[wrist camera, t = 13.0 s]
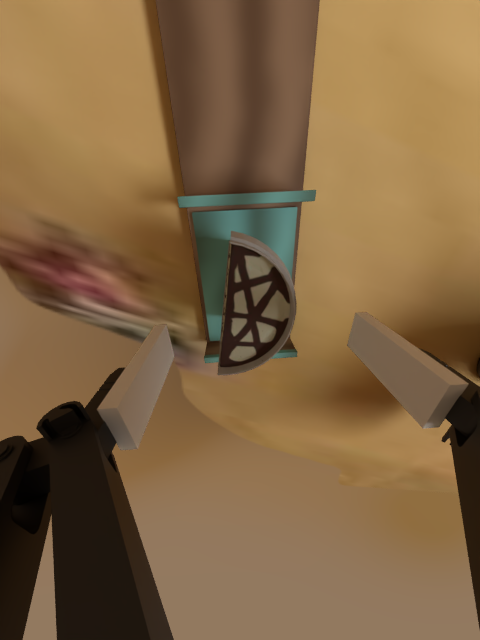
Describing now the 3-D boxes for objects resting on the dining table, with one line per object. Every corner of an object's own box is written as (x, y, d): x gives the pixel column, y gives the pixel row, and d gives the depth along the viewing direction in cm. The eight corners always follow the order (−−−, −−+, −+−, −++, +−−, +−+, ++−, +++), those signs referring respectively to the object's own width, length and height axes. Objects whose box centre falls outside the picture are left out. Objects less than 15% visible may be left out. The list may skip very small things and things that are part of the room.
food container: (265, 329, 27) (282, 383, 18) (221, 325, 27) (217, 379, 18) (285, 233, 22) (325, 245, 13) (230, 225, 21) (231, 232, 12)
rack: (325, -116, 13) (369, -269, 9) (287, 337, 30) (296, 356, 26) (141, -114, 13) (100, -270, 9) (208, 342, 29) (205, 363, 25)
